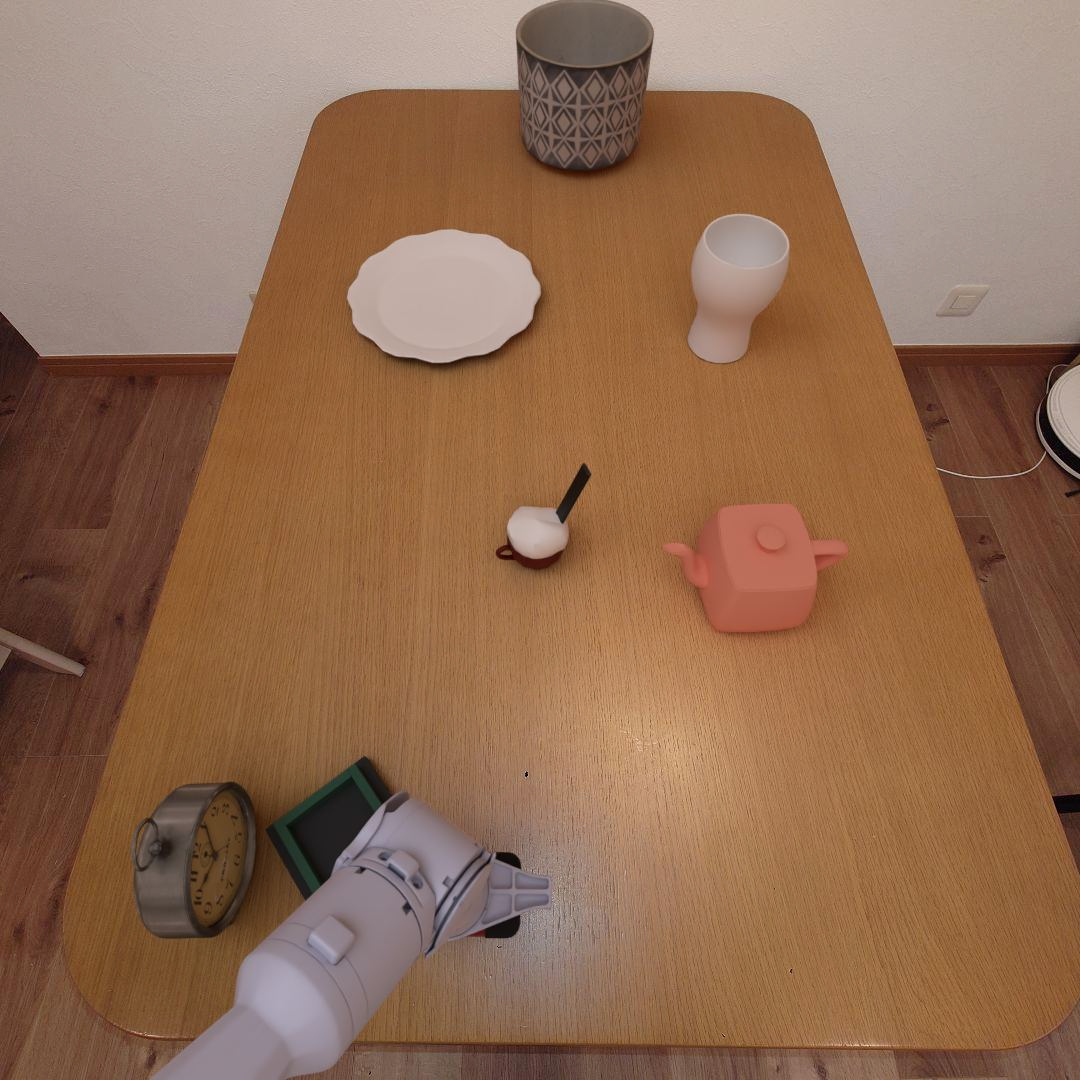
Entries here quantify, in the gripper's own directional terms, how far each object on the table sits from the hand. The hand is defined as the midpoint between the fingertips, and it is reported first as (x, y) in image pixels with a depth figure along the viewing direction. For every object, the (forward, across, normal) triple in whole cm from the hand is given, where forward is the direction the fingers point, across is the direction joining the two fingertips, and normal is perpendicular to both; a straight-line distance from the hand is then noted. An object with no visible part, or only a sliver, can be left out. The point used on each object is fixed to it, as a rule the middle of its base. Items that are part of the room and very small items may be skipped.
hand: (460, 900), depth 57 cm
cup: (+2, -29, -65) cm, 71 cm away
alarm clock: (+2, +20, -3) cm, 21 cm away
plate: (+2, +7, -72) cm, 72 cm away
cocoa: (+2, -6, -34) cm, 34 cm away
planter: (+2, -12, -108) cm, 108 cm away
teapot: (+2, -27, -29) cm, 40 cm away
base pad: (+2, +10, -5) cm, 12 cm away
